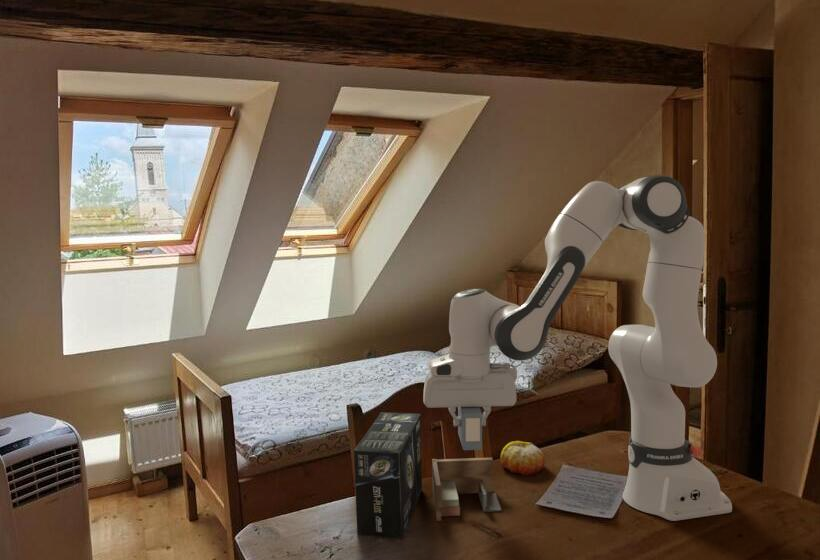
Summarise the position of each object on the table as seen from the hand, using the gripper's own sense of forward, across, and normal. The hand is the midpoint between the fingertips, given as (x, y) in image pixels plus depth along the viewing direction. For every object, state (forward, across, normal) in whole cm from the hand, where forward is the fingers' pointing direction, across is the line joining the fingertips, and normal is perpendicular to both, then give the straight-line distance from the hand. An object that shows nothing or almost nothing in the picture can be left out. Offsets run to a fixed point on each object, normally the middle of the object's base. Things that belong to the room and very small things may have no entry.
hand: (469, 425), depth 143 cm
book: (+4, 0, 0) cm, 4 cm away
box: (+19, +17, +1) cm, 26 cm away
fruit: (+19, -16, -19) cm, 31 cm away
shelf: (+19, +1, -1) cm, 19 cm away
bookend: (+19, -5, -1) cm, 19 cm away
